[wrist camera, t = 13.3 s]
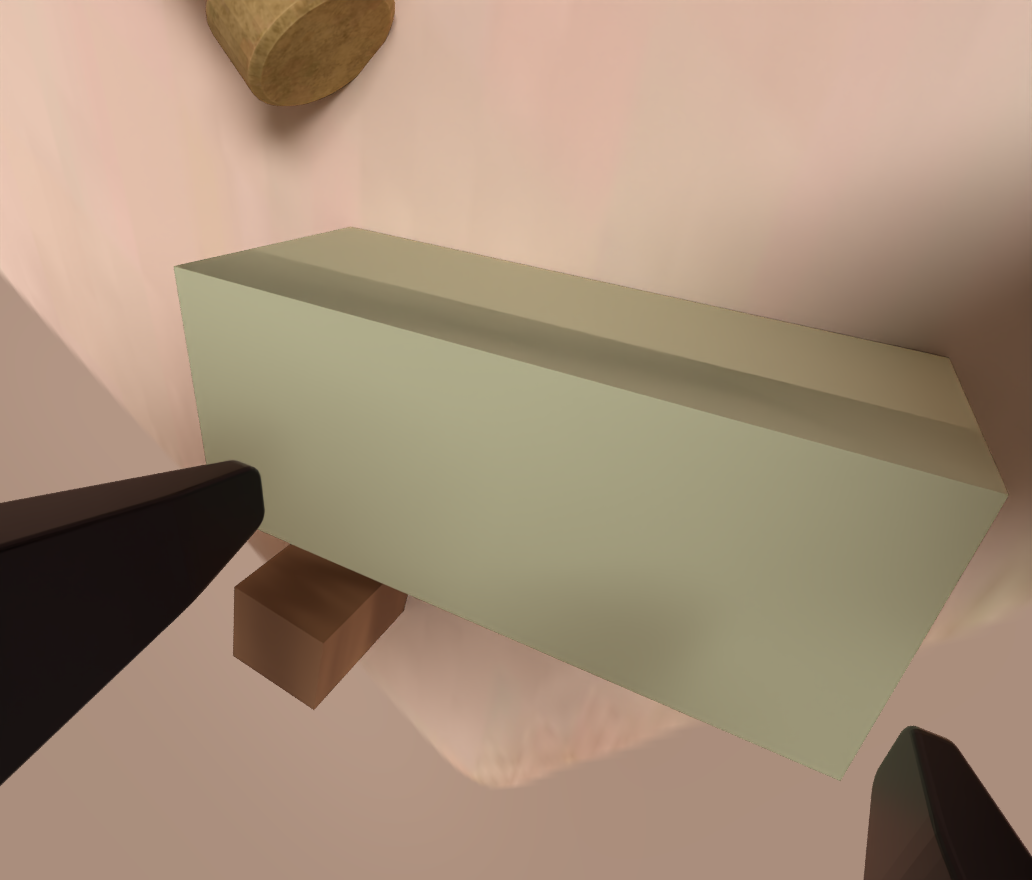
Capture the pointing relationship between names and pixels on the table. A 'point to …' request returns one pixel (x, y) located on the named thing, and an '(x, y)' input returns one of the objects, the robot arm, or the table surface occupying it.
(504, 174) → the table surface
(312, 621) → the pusher tool
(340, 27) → the gavel
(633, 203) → the table surface
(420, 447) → the plinth shelf
